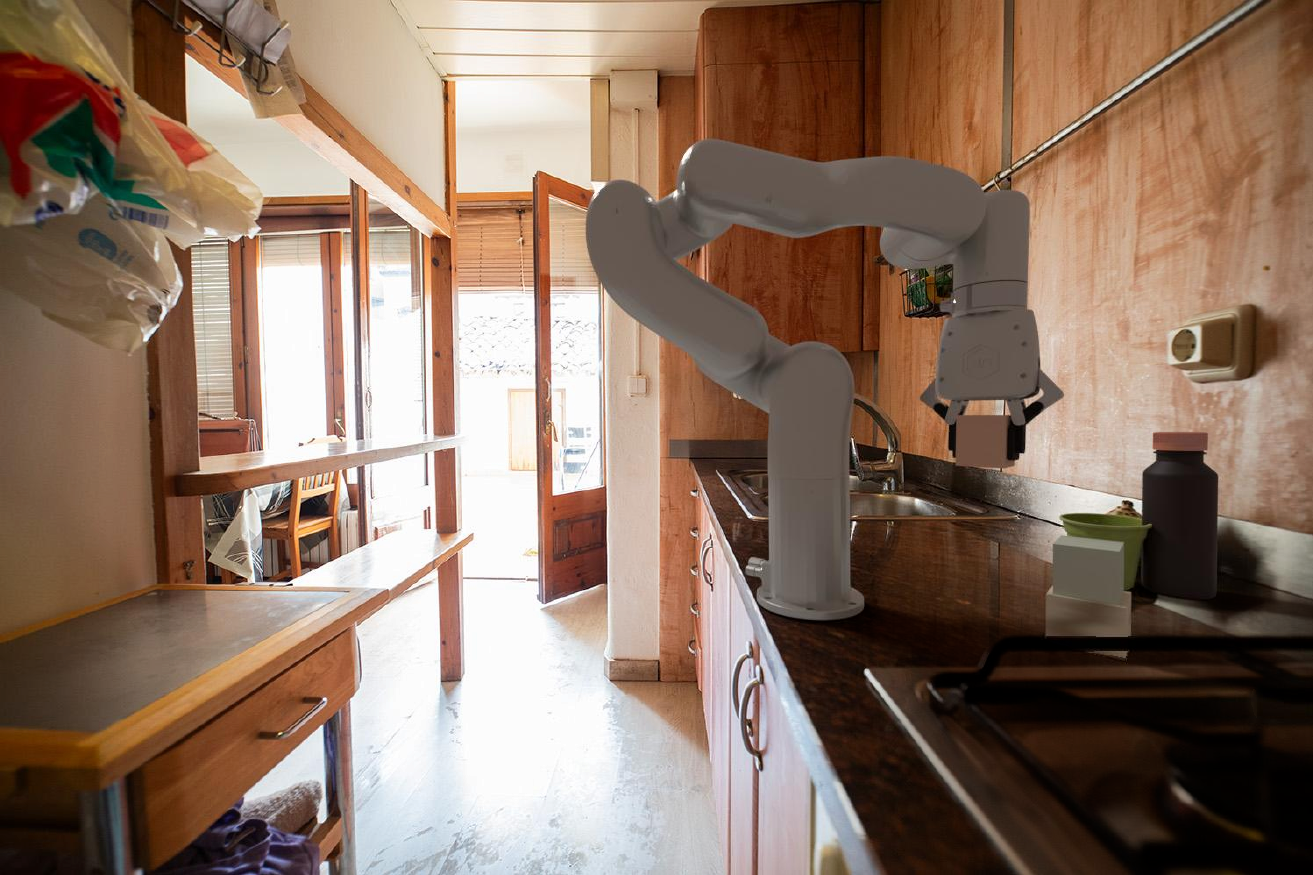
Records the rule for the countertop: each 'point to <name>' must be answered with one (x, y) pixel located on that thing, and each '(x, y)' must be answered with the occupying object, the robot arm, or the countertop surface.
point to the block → (982, 441)
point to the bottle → (1180, 518)
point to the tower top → (1088, 569)
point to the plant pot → (1111, 535)
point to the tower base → (1088, 618)
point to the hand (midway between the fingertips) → (985, 457)
